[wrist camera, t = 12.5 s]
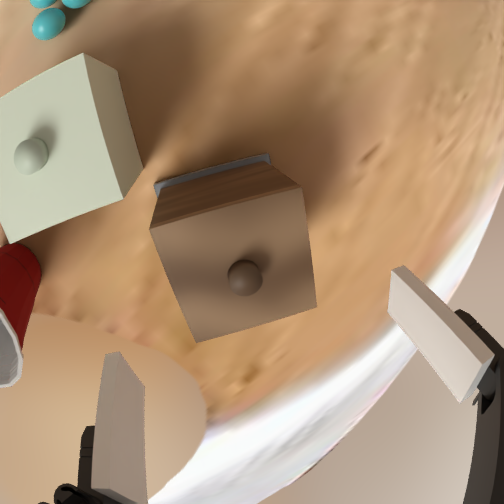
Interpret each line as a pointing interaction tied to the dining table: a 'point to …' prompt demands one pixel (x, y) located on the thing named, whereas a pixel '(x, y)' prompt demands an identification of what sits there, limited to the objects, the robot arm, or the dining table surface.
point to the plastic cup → (15, 306)
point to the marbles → (52, 17)
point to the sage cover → (64, 146)
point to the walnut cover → (235, 249)
